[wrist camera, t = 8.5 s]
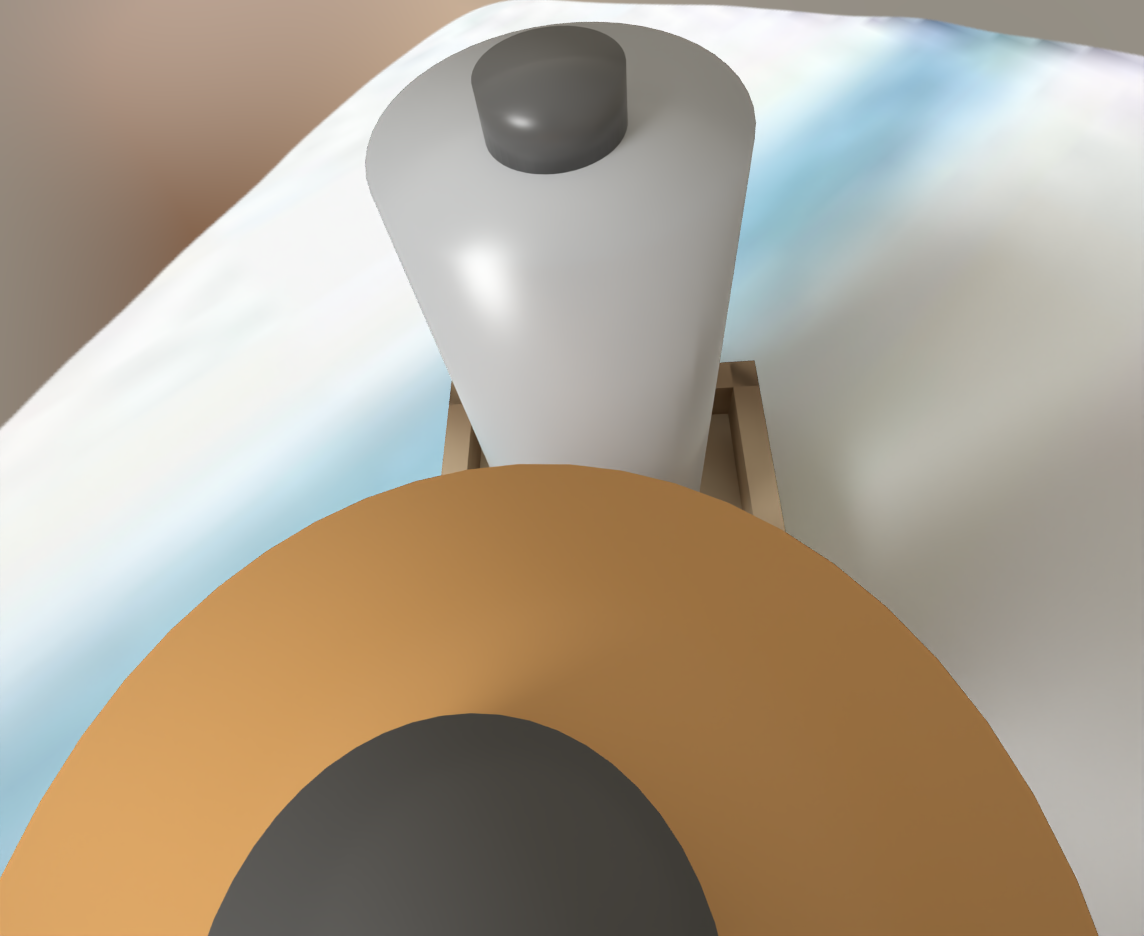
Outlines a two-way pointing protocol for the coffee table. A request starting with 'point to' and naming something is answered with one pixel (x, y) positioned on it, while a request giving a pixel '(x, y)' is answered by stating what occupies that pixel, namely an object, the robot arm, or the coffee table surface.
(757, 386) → the slot rack
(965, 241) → the coffee table surface
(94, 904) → the orange bottle
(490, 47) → the grey bottle
